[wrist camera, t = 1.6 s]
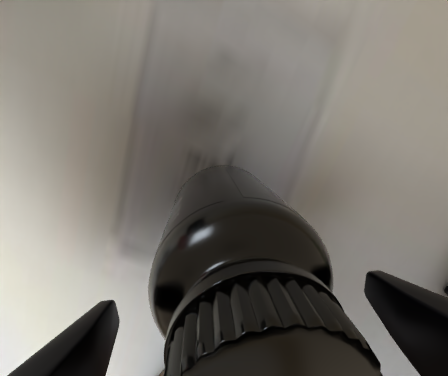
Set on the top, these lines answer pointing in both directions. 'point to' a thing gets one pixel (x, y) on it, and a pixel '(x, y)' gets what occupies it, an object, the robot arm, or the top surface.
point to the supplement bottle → (248, 287)
